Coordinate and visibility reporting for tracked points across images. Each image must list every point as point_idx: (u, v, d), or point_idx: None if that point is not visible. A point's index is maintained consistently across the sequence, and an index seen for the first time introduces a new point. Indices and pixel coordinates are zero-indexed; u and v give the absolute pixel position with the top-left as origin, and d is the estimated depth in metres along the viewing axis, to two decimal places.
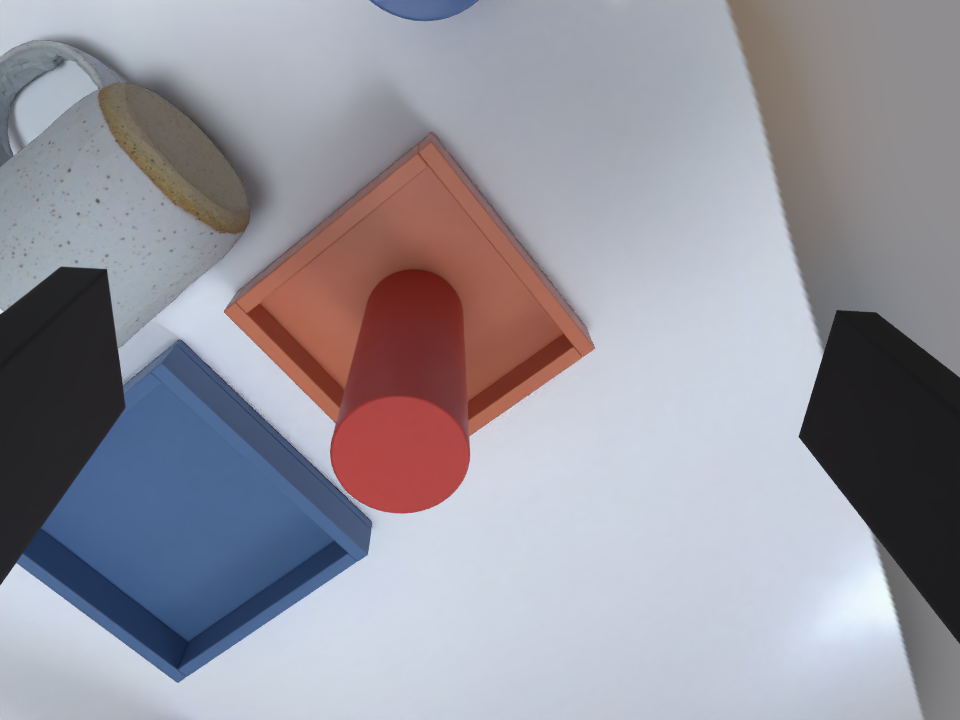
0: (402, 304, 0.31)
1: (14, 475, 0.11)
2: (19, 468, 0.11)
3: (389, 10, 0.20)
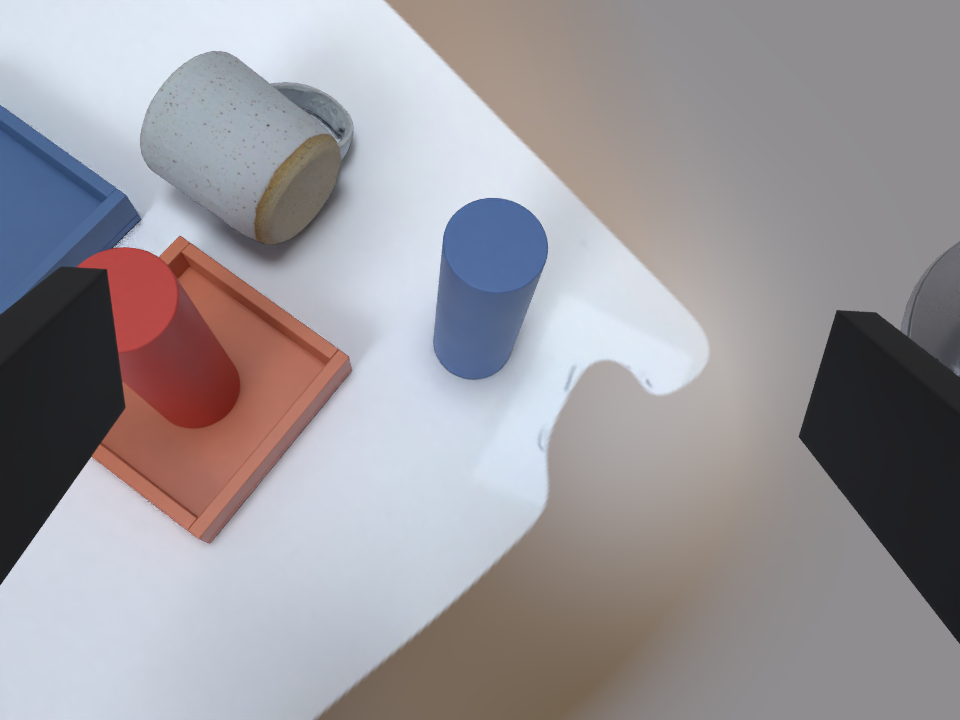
0: (220, 346, 0.38)
1: (14, 475, 0.11)
2: (19, 468, 0.11)
3: (444, 236, 0.33)
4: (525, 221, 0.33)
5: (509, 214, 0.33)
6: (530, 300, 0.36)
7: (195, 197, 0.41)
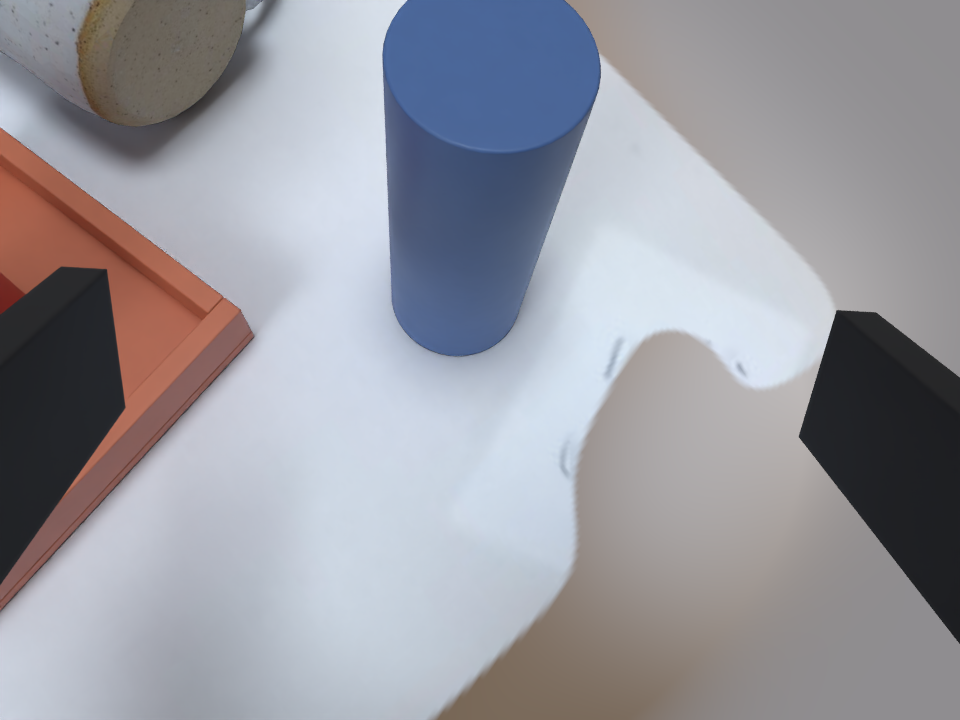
0: None
1: (14, 475, 0.11)
2: (19, 468, 0.11)
3: (387, 38, 0.16)
4: (555, 18, 0.16)
5: (522, 3, 0.16)
6: (558, 196, 0.19)
7: None
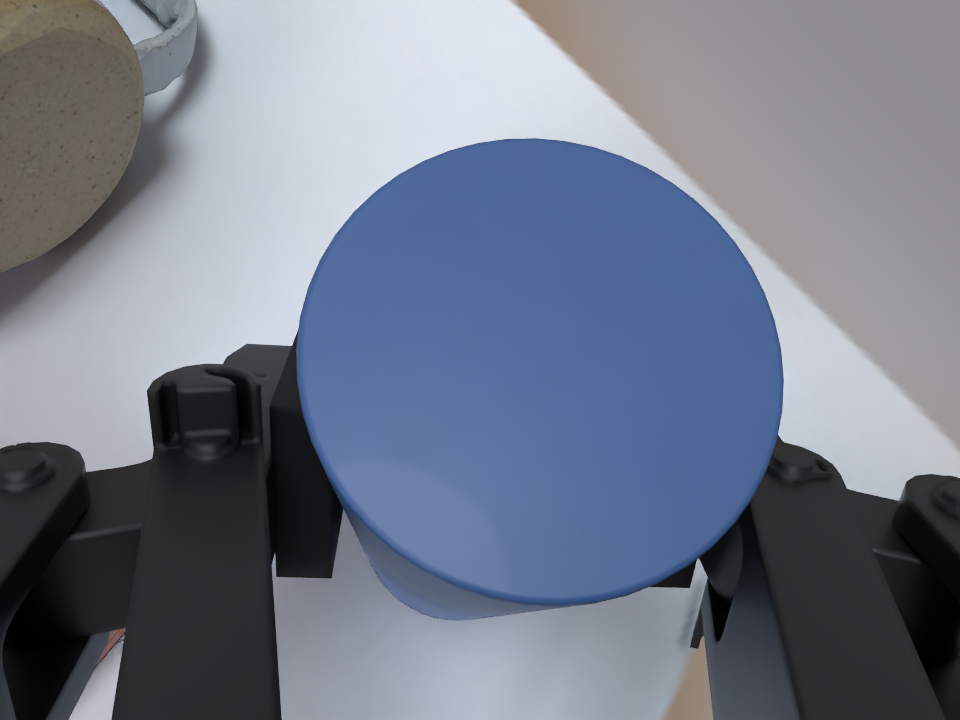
0: None
1: None
2: None
3: (308, 306, 0.07)
4: (677, 242, 0.07)
5: (606, 210, 0.08)
6: None
7: None
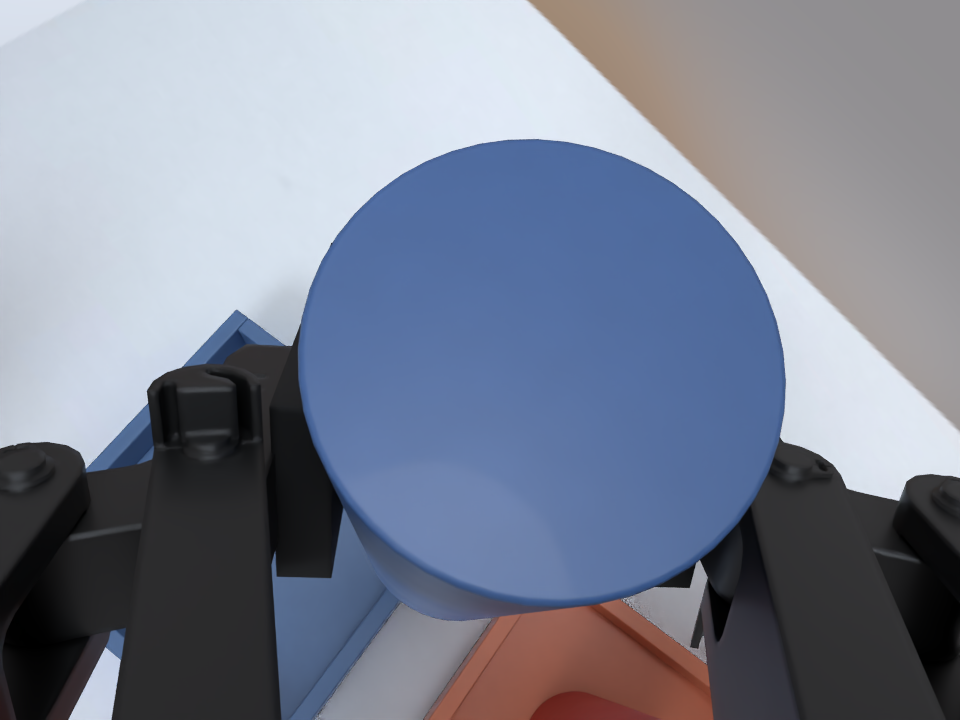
0: None
1: None
2: None
3: (309, 307, 0.07)
4: (679, 243, 0.07)
5: (608, 211, 0.08)
6: None
7: None
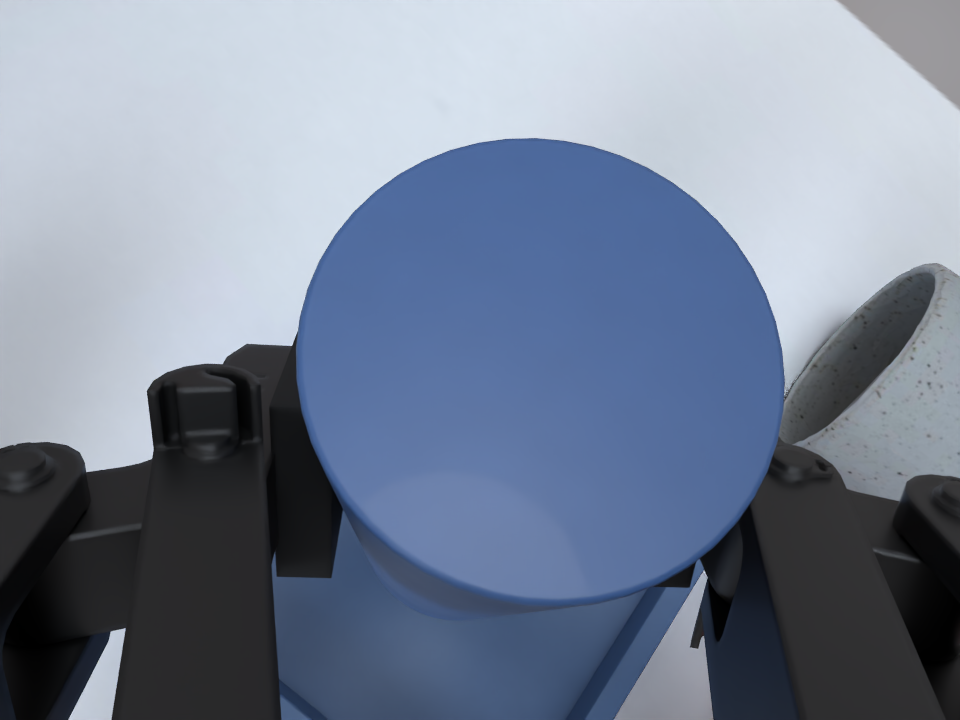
0: None
1: None
2: None
3: (307, 307, 0.07)
4: (678, 243, 0.07)
5: (606, 210, 0.08)
6: None
7: None
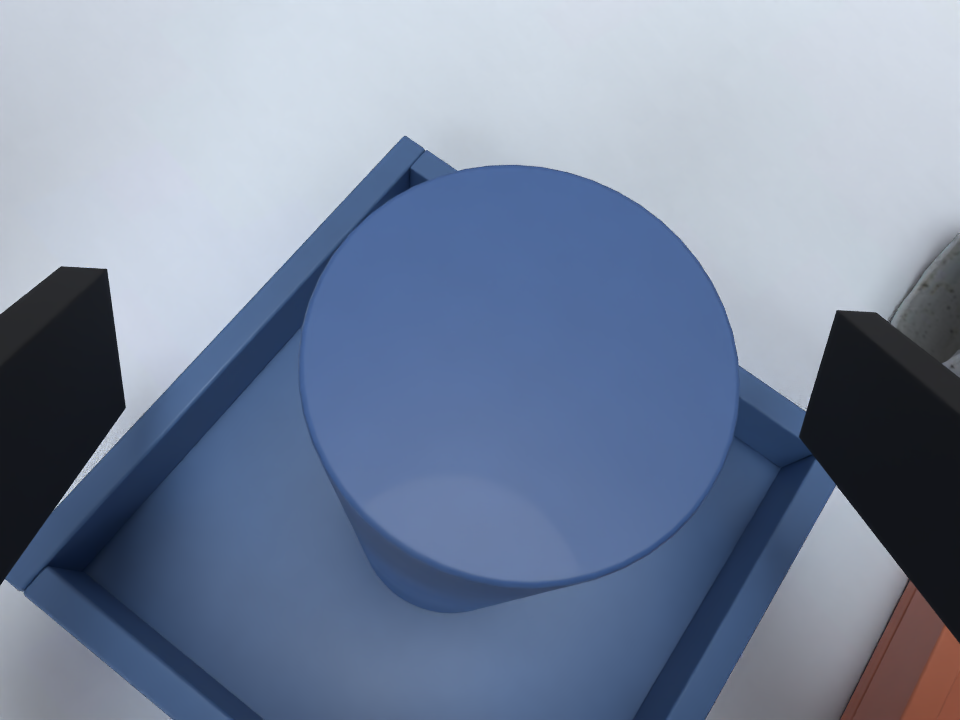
0: None
1: (14, 475, 0.11)
2: (19, 468, 0.11)
3: (308, 320, 0.08)
4: (644, 260, 0.08)
5: (580, 231, 0.08)
6: None
7: None
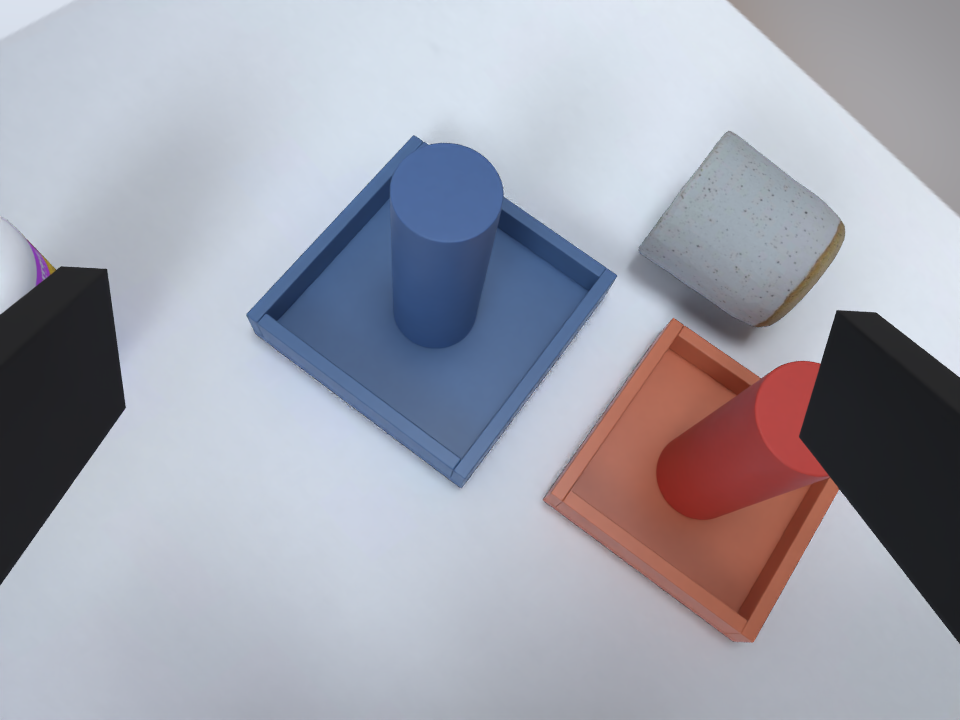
0: None
1: (14, 475, 0.11)
2: (19, 468, 0.11)
3: (392, 181, 0.30)
4: (480, 168, 0.31)
5: (463, 160, 0.31)
6: (487, 257, 0.33)
7: (701, 280, 0.40)
